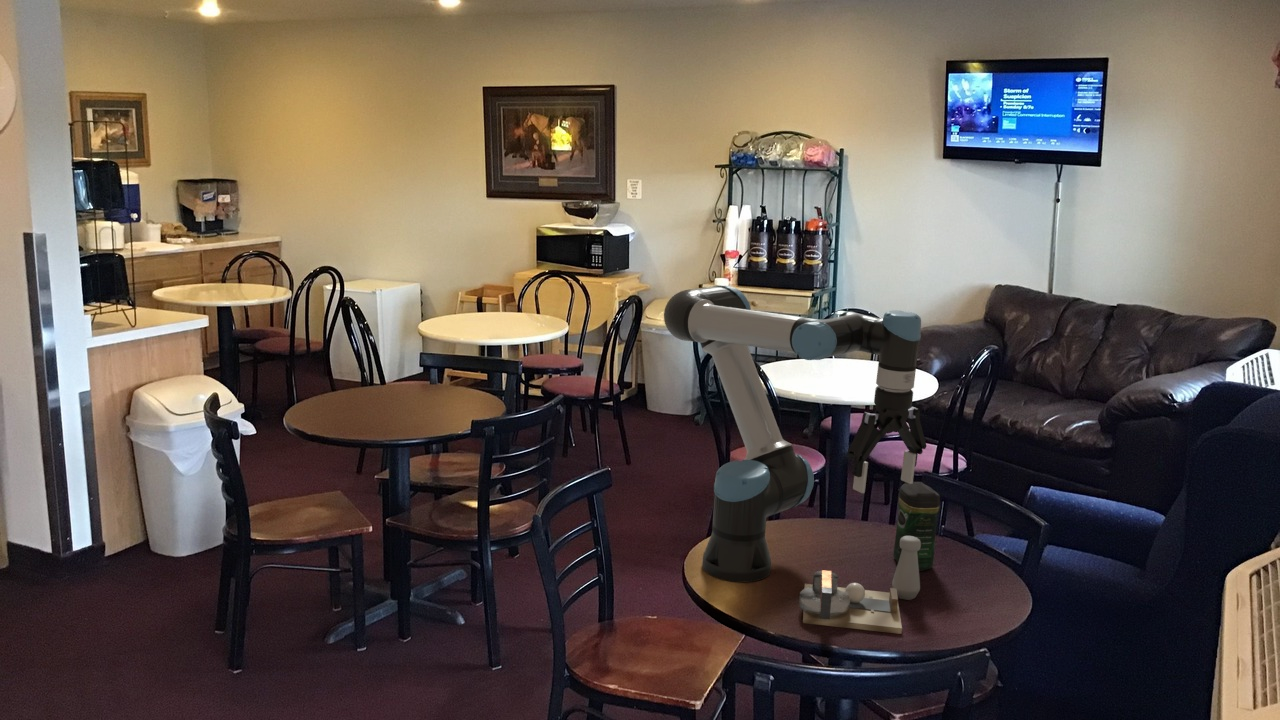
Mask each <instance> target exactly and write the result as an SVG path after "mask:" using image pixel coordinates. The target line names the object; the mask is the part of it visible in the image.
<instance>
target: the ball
mask: <svg viewBox="0 0 1280 720" xmlns="http://www.w3.org/2000/svg"><path fill="white" fill-rule="evenodd" d="M845 588H846V589H845V593H846V594H847V595H848V596H849V598H850V601H851V602H853V603H858V602H860V601H862V600H863V599H864V597H865V590H866V589H865V588H864V586H863V584H860V583H858V582H851V583H849V584H847V586H846V587H845Z"/></svg>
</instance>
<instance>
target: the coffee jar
mask: <svg viewBox="0 0 1280 720" xmlns="http://www.w3.org/2000/svg"><path fill="white" fill-rule="evenodd" d="M940 498H941V496H940V494H939V493H938V492H937V491H935V490H934V489H933V488H932V487H930V485H927V484H925V483H924V482H922V481H913V484H909V483H907V482H904V483H903V484H902V485H901V486H900V488H899V494H898V513H897V522H896V530H895V531H896V532H895V538H894V546H893V554H892V555H893V558H894V560H895V561H896V562H897V563H898V562H899V558H900V555H901V551H902V549H901V548H900V539H901V538H902V537H903V536H914V537H917V538H918V539H919V540H920V542H921V547H920V550H919V551H917V555H918V567H919V572H920V571H926V570H931V569H932V568H933V566H934V560H935V559H934V558H935V548H936V546H935V545H936V534H937V533H936V532H937V524H938V523H937V521H938V514H939V510H940V504H941V503H940V501H941V499H940Z"/></svg>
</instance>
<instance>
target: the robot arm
mask: <svg viewBox="0 0 1280 720" xmlns="http://www.w3.org/2000/svg"><path fill="white" fill-rule="evenodd" d="M663 320H664V325H665V327H666V330H668V332H669V333H670V334H671V335H672V337H675V338H676V339H678V340H681V341H685V342H694V343H699V344H700V347H701V348H702V351H703V352H705V353H707V354H709V355H710V356H712V360H713V363H714V365H715V367H716V368H715V369H716V371H717V373H718V376H719V379H720V381H721V385H722V388H723V390H724V392H725V395H726V398H727V401H728V404H729V406H730V410H731V412H732V414H733V417H734V420H735V423H736V425H737V428H738V430H739V433H740V436H741V438H742V441H743V445H744V446H745V450H746V455H745V457H744V459H742V460H733V461H729V462H727V463H724V464H723V465H721V467H719V468H718V470H717V471H716V473H715V481H714V484H713V504H712V505H713V511H712V527H711V528H712V530H711V533H710V534H711V535H710V537H709V540H708V542H707V544H706V547H705V550H704V552H703V554H702V563H701V564H702V569H703V570H704V572H706V573H707V575H710V576H711V577H714V578H716V579H719V580H722V581H727V582H735V583H749V582H750V583H751V582H757V581H761V580H763V579H766V578H767V577H768V576H769V575H770V574H771V571H772V558H771V554H770V550H769V547H768V543H767V539H766V530H767V529H766V527H767V518H768V517H770V516H773V515H776V514H779V513H782V512H784V511H786V510H791V509H793V508H796V507H797V506H798V505H801V504H803V503H804V502H805V501H807V499H809V497H810V496H811V493H812V490H813V488H814V483H815V479H814V478H815V477H814V471H813V469H812V465H811V464H810V462H809V461H808V460H807V459H806V458H803V456H802V455H801V454H798V453H796V452H795V450H794V447H793V444H792V443H790V442H788V441H786V440H785V439H784V438H783V436H782V434H781V431H780V428H779V426H778V424H777V421H776V418H775V416H774V413H773V410H772V407H771V405H770V402H769V399H768V396H767V394H766V391H765V388H764V386H763V383H762V381H761V380H762V379H761V378H760V375H759V372H758V370H757V368H756V364H755V362H754V358H753V356H752V354H751V352H750V348H749V347H755V348H761V349H768V350H773V351H777V352H778V351H779V352H785V353H791V354H796V355H798V356H799V357H800V358H801V359H803V360H806V361H821V360H824V359H827V358H830V357H834V356H838V355H839V356H840V355H843V354H848V353H852V352H862V353H867V354H871V355H876V356H878V364H877V373H876V382H875V384H876V387H875V391H874V397H873V398H874V399H873V403H874V405H875V407H876V408H875V411H874V413H870V412H867V411H864V413H863V414H862V418H861V423H860V425H859V427H858V429H857V431H856V433H855V436H854V437H853V440H852V442H851V444H850V446H849V448H848V450H847V452H846V457H847V458H849V459H851V460H853V465H852V466H853V468H852V475H853V482H852V483H853V485H852V490H854V491H857V492H858V493H860V494H865V492H866V485H867V484H866V483H867V477H868V469H869V467H868V466H869V462H868V461H866V460H867V459H868V457H869V456H870V455H871V454H872V452H873V451H874V449H875V448H876V446H877V445H878V443H879V441H880V440H881V439H882V438H884V437H885V436H886V435H887V434H892V433H897V434H898V435H899V436H900V438H901V440H902V442H903V443H904V445H905V447H906V449H907V450H906V449H905V450H903V457H902V467H901V475H900V480H901V481H902V482H904V483H906V482H907V483H909V484H913V482H914V476H915V467H916V466H917V461H918V455H922V454H923V452H924V451H923V450H926V448H927V442H926V439H925V434H924V430H923V427H922V423H921V419H920V418H921V415H920V414H921V413H920V412H921V411H920V409H919V408H918V407H914V406H913V398H914V390H912V389H914V388H915V380H916V379H915V378H916V370H917V363H918V355H919V348H920V346H919V345H920V341H921V339H922V335H921V331H922V318H921V316H919V314H917V313H915V312H912V311H905V310H904V311H903V310H888V311H886V312H885V313H884V314H883V317H875V316H871V315H867V314H863V313H858V312H856V311H851V310H850V311H845V310H837V311H835V312H834V313H833V314H832V315H830V318H826V319H819V318H818V319H817V318H812V317H810V318H809V317H803V316H797V315H789V314H781V313H774V312H767V311H762V310H761V311H760V310H753V309H752V308H751V304H750V302H749V300H748V298H747V297H746V295H745V294H744V293H743V292H742V291H741V290H739V289H738V288H735V287H734V286H730V285H720V284H719V285H713V286H708V287H700V288H699V287H698V288H692V289H685V290H681V291H679V292H676V293H675V294H674V295H673V296H671V297H670V299H669V300H668V301H667V303H666V304H665V308H664V312H663Z"/></svg>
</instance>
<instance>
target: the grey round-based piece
mask: <svg viewBox="0 0 1280 720" xmlns="http://www.w3.org/2000/svg"><path fill="white" fill-rule="evenodd" d="M838 583H839V576H838V574H836V573H835V572H832V570H823V569H822V570H817V571H814V572H813V575H812V584H813V587H808V588H805V587H804V588H805V589H804V588H803V589H802V590H801V591H799V597H798V598H799V600H798V605H799V608H800V609H801V610H804V611H805V612H807V613H809V614H812V615H815V616H819V617H820V619H829V620H830V618H833V617H840V616H843V615H845V614H847V613H848V612H849V607H850V598H849V596H848V595H847V594H846V593H844V592H843V591H840V590H838V589H837V587H839V586H838Z"/></svg>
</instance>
